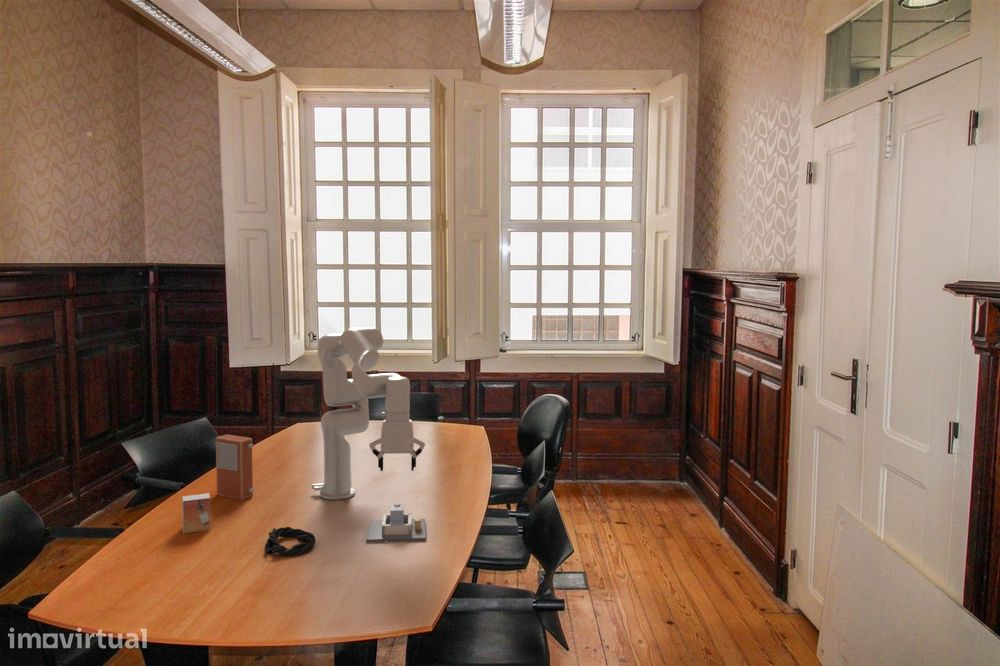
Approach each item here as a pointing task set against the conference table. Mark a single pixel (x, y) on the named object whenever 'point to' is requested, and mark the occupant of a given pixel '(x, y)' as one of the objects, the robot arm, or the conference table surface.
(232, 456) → the orange electrical enclosure
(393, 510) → the block
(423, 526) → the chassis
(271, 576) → the conference table surface
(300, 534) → the cable
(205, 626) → the conference table surface
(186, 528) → the small box
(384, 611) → the conference table surface
